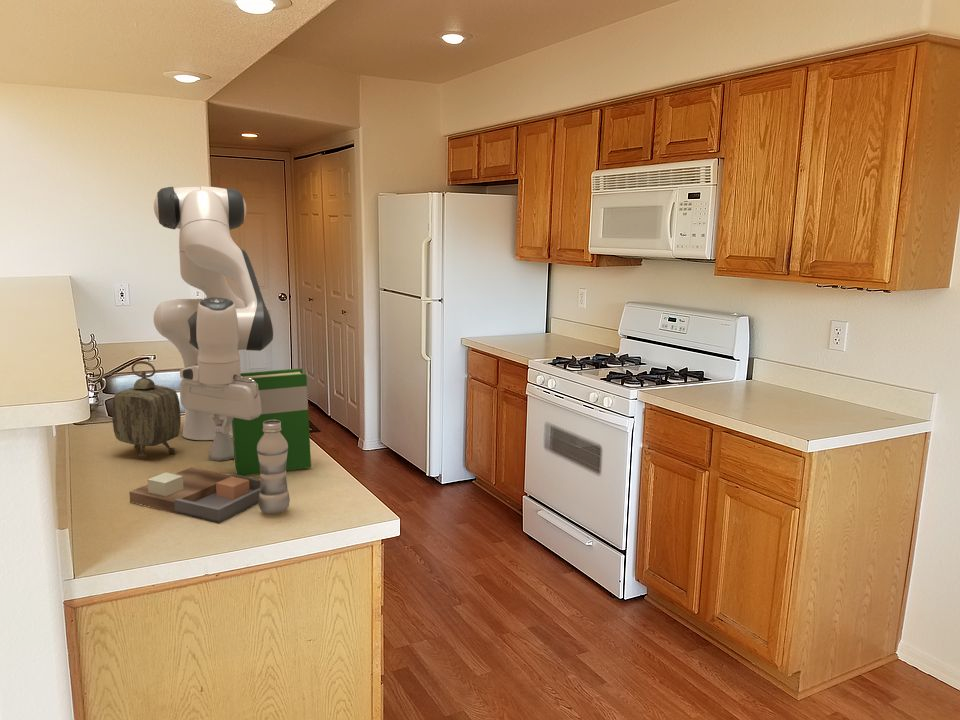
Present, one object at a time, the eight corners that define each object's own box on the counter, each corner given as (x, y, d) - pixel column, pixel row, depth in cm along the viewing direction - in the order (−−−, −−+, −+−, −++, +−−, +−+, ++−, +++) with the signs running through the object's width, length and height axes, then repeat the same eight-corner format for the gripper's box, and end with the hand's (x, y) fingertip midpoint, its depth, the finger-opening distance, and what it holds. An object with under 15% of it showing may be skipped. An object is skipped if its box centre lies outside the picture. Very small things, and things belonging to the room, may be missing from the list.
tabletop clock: (182, 453, 194) (177, 360, 189) (159, 463, 185) (153, 366, 180) (136, 447, 197) (130, 356, 193) (111, 457, 189) (104, 362, 184)
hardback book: (306, 458, 191) (301, 368, 186) (311, 467, 184) (306, 374, 179) (235, 467, 184) (228, 374, 179) (237, 476, 177) (230, 380, 173)
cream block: (166, 485, 164) (165, 472, 163) (183, 488, 162) (182, 476, 162) (148, 492, 160) (147, 479, 159) (165, 496, 158) (165, 483, 157)
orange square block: (232, 488, 168) (232, 476, 168) (249, 492, 166) (249, 479, 166) (216, 495, 164) (215, 483, 163) (233, 499, 162) (233, 486, 161)
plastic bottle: (295, 507, 160) (293, 419, 156) (280, 519, 153) (278, 427, 150) (268, 504, 161) (266, 416, 157) (252, 516, 155) (249, 425, 151)
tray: (234, 486, 171) (233, 473, 171) (275, 494, 167) (275, 482, 166) (175, 513, 155) (174, 499, 155) (219, 523, 151) (218, 510, 150)
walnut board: (191, 477, 176) (191, 467, 176) (234, 486, 171) (234, 475, 171) (130, 502, 160) (129, 491, 160) (175, 513, 155) (174, 502, 155)
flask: (227, 451, 197) (226, 415, 195) (243, 457, 192) (242, 420, 190) (203, 457, 191) (201, 420, 189) (218, 463, 187) (216, 425, 185)
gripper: (266, 375, 160) (268, 436, 163) (195, 364, 168) (197, 422, 171) (247, 381, 154) (249, 444, 157) (173, 369, 162) (176, 429, 165)
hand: (221, 432), depth 164 cm, fingers closed
